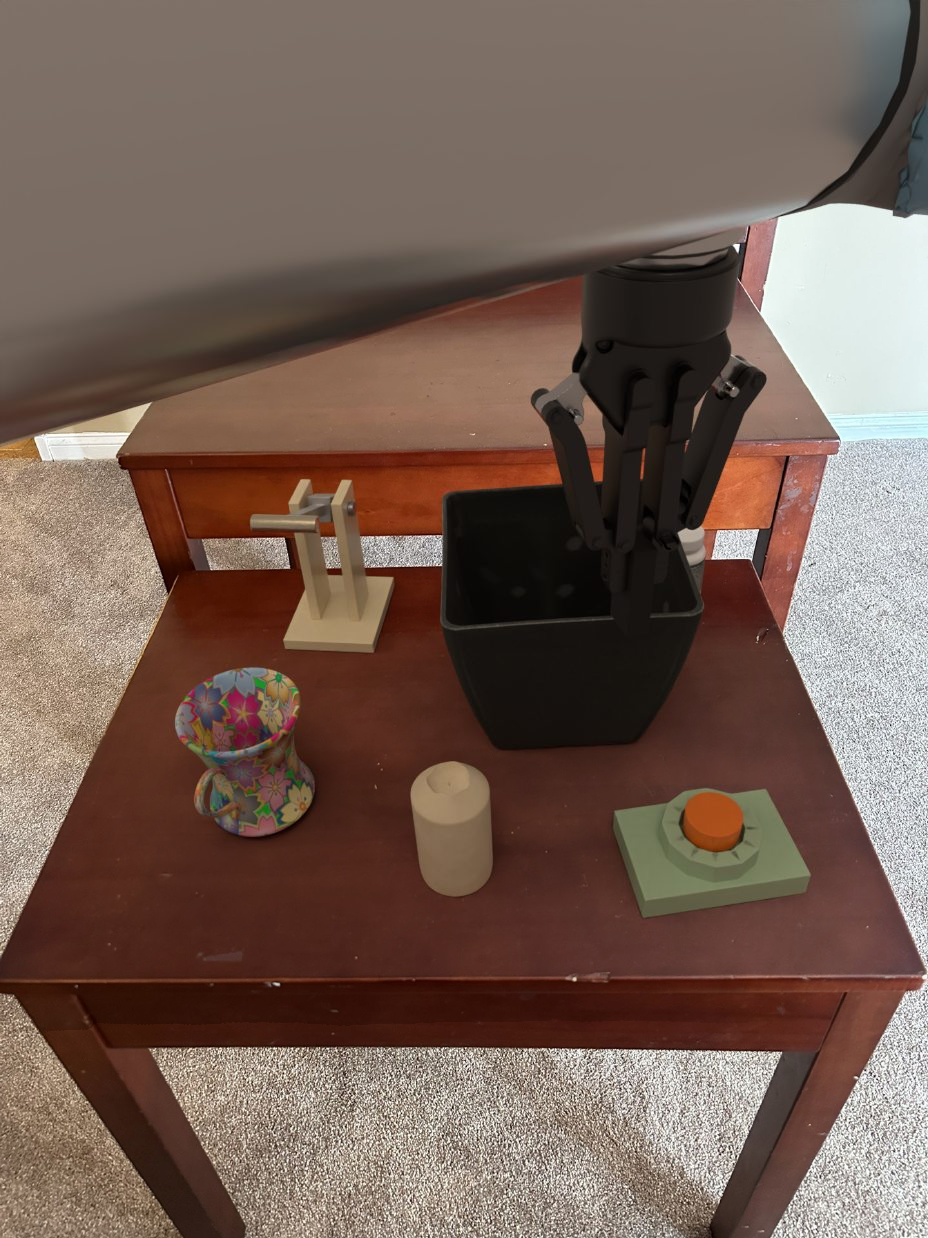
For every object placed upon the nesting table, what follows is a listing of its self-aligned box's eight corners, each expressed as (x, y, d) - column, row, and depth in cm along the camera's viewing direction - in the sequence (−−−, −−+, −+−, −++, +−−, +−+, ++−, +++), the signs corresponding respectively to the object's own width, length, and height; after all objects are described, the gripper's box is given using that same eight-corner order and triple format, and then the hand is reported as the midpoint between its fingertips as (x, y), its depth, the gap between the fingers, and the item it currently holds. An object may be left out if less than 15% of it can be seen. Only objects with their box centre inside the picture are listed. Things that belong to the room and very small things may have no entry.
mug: (239, 750, 78) (211, 659, 71) (338, 768, 76) (319, 676, 69) (169, 863, 69) (129, 770, 62) (279, 887, 67) (250, 794, 60)
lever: (315, 540, 73) (314, 511, 72) (250, 538, 73) (248, 509, 73) (355, 519, 85) (355, 494, 85) (299, 518, 86) (299, 493, 85)
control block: (642, 918, 63) (647, 885, 61) (612, 828, 69) (615, 794, 67) (805, 893, 64) (816, 859, 62) (761, 806, 70) (769, 772, 68)
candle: (494, 896, 65) (490, 807, 59) (419, 899, 65) (406, 810, 59) (492, 835, 69) (487, 746, 63) (421, 837, 70) (410, 749, 63)
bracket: (374, 653, 87) (355, 524, 78) (284, 649, 88) (255, 522, 79) (394, 585, 96) (379, 462, 86) (313, 583, 97) (289, 461, 88)
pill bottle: (695, 584, 93) (705, 516, 88) (703, 612, 89) (713, 543, 84) (649, 585, 93) (656, 517, 88) (655, 613, 90) (662, 544, 85)
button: (693, 856, 63) (696, 840, 62) (675, 811, 66) (677, 796, 65) (748, 847, 63) (752, 832, 62) (727, 804, 66) (730, 788, 65)
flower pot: (453, 783, 74) (439, 625, 63) (452, 636, 89) (441, 488, 78) (684, 772, 73) (709, 612, 63) (644, 627, 88) (659, 477, 78)
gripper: (744, 208, 47) (694, 572, 62) (509, 240, 45) (515, 610, 60) (826, 247, 42) (749, 637, 56) (562, 286, 39) (554, 683, 54)
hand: (629, 623), depth 58 cm, fingers closed
